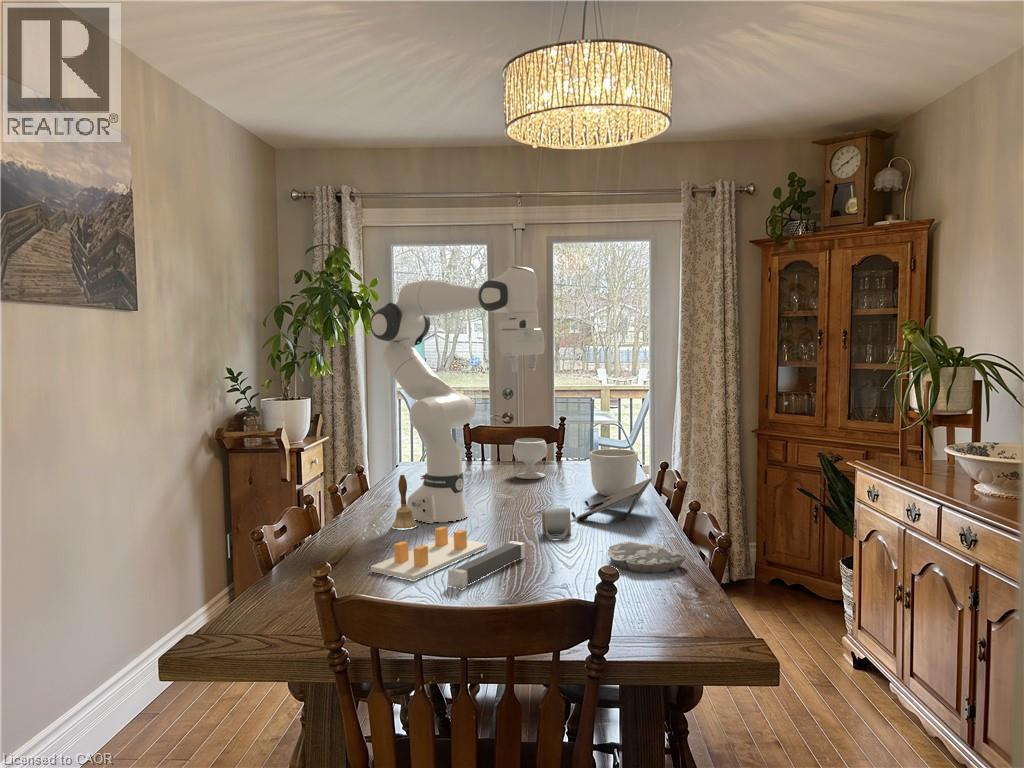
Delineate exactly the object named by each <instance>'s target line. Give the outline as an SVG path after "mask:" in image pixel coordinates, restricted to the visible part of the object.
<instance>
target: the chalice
mask: <svg viewBox="0 0 1024 768" xmlns="http://www.w3.org/2000/svg"><path fill="white" fill-rule="evenodd" d="M512 447H513V448H512V454H513V455H514V457H515V458H516V459H518V460H520V461H521V462H523V463H524V464H526V465H527V468H528V469H527V471H526V472H521V473H517V474H515V477H516V478H517V479H524V480H525V479H526V480H535V479H541V478H545V477H546V474H545V473H543V472H538V471H537V472H535V471H534V469H533V468H534V465H535V464H536V463H537V462H539V461H541V460H542V459H544V458H545V457H546V456H547V454H548V445H547V442H546V440H545V439H544V438H540V437H539V438H538V437H523V438H518V439H516V440H515V441H514V444H513V446H512Z"/></svg>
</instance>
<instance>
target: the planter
mask: <svg viewBox="0 0 1024 768" xmlns="http://www.w3.org/2000/svg"><path fill="white" fill-rule="evenodd" d="M638 455H639V454H638V452H637V451H636V450H632V449H625V448H603V449H602V448H601V449H599V448H598V449H594V450H591V451H590V452H589V463H590V473H591V484H592V486H593V488H594V490H595V491H596V493H598V494H600V495H601V496H605V497H608V496H611V495H613V494H615V493H618V492H620V491H622V490H624V489H627V488H629V487H631V486H633V485H636V484H637V483H636V481H637V470H638Z"/></svg>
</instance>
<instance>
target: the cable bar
mask: <svg viewBox="0 0 1024 768" xmlns="http://www.w3.org/2000/svg"><path fill="white" fill-rule="evenodd" d="M523 557H525V558H526V542H522V541H521V542H520V541H514V540H511V541H509V542H507V544H505V545H502V546H500V547H498V548H496V549H494V550H492V551H490V552H486V553H485V554H482V555H481V556H478V557H477V558H473V559H472V560H470V561H468V562H465V563H464V564H461V565H459V566H457V567H452V568H450V569H448V570H447V577H448V578H447V581H448V586H452V587H456V588H460V589H463V588H465V587H467V586H468V584H470V583H472V582H474V581H476V580H478V579H480V578H481V577H483V576H486V575H487V574H489V573H491V572H493V571H495V570H497V569H499V568H501V567H503V566H504V565H506V564H508V563H510V562H512V561H514V560H517V559H519V558H523ZM468 587H469V586H468Z"/></svg>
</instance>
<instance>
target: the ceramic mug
mask: <svg viewBox="0 0 1024 768" xmlns="http://www.w3.org/2000/svg"><path fill="white" fill-rule="evenodd" d="M541 515H542V516H541V517H542V519H541V521H542V523H541V524H542V532H543V533H544V535H546V537H547V538H548V539H549V538H550V539H549V540H551V539H561V540H564V539H565V538H566V536H571V534H572V525H571V522H572V521H571V508H570V507H561V508H559V507H558V508H547V509H544V510H543V511H542V513H541ZM550 534H558V535H550Z"/></svg>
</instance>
